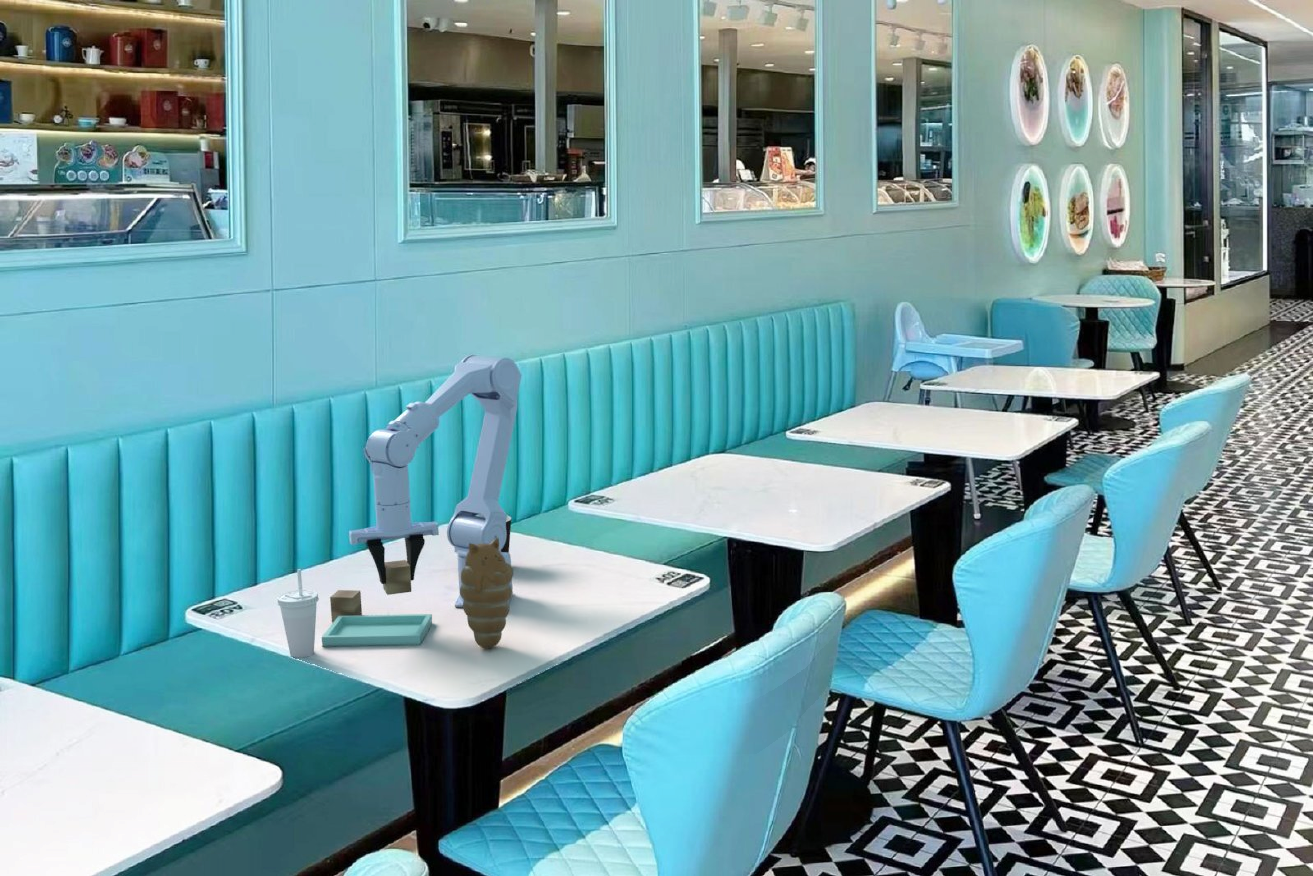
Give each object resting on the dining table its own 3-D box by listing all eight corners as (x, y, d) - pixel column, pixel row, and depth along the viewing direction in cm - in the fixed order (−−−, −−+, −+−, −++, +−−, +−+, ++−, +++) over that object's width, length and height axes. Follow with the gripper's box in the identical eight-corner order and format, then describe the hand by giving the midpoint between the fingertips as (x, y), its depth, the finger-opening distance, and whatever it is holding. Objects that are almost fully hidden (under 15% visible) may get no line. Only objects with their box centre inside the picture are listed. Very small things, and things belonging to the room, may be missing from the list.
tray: (432, 623, 225) (431, 614, 225) (420, 645, 214) (419, 635, 214) (339, 624, 225) (338, 615, 225) (322, 646, 215) (321, 637, 214)
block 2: (406, 585, 224) (405, 559, 223) (411, 591, 220) (410, 565, 219) (383, 588, 222) (381, 562, 222) (387, 594, 219) (385, 568, 218)
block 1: (361, 615, 231) (360, 590, 230) (354, 622, 227) (352, 597, 226) (339, 614, 231) (338, 590, 230) (331, 622, 227) (330, 597, 226)
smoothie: (311, 661, 208) (305, 576, 205) (274, 659, 209) (267, 574, 207) (329, 647, 214) (323, 564, 212) (292, 645, 215) (286, 563, 213)
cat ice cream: (476, 660, 207) (470, 550, 203) (452, 647, 213) (447, 539, 209) (524, 648, 212) (520, 540, 208) (500, 635, 218) (495, 530, 215)
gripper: (430, 492, 225) (434, 569, 227) (344, 501, 219) (349, 579, 222) (439, 501, 218) (443, 580, 221) (351, 510, 213) (356, 591, 215)
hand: (396, 580), depth 221 cm, fingers closed on block 2, 4 cm apart
